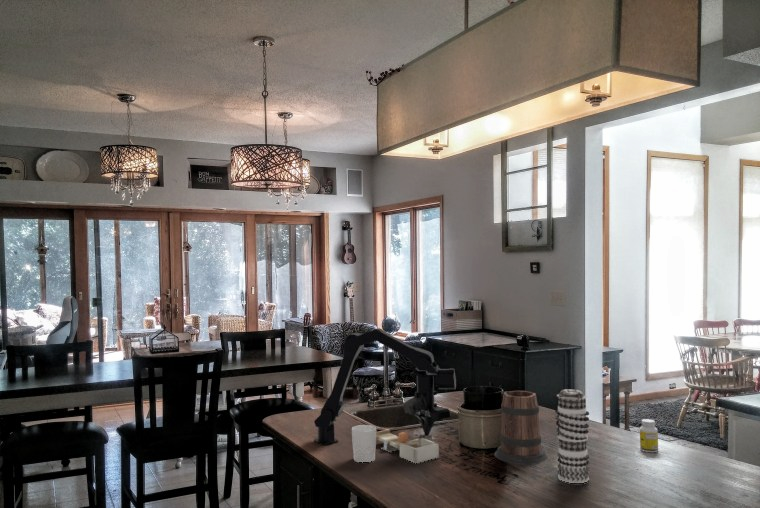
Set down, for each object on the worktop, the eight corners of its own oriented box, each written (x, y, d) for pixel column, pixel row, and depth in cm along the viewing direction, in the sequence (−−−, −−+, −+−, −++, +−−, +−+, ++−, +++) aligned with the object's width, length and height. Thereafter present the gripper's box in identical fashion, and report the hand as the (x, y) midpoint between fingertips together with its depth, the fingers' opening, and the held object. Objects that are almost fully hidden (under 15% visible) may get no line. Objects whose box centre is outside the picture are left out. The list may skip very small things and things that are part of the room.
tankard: (545, 466, 178) (544, 400, 178) (489, 460, 184) (488, 396, 184) (552, 444, 200) (550, 385, 200) (502, 440, 206) (501, 383, 206)
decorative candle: (587, 486, 161) (585, 395, 162) (553, 481, 166) (551, 392, 166) (593, 476, 169) (591, 389, 170) (560, 471, 174) (558, 386, 174)
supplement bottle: (639, 447, 195) (638, 417, 196) (657, 448, 194) (656, 419, 194) (640, 452, 190) (640, 421, 191) (659, 453, 188) (658, 423, 189)
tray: (399, 457, 188) (399, 443, 189) (422, 451, 194) (422, 438, 194) (415, 463, 182) (415, 449, 182) (438, 457, 187) (438, 443, 188)
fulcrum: (380, 448, 198) (380, 439, 198) (402, 443, 203) (401, 434, 203) (389, 452, 193) (389, 442, 194) (411, 447, 199) (410, 437, 199)
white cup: (373, 464, 182) (373, 432, 182) (349, 463, 184) (348, 431, 184) (379, 456, 190) (378, 425, 190) (355, 455, 191) (354, 424, 192)
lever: (374, 438, 203) (374, 431, 203) (409, 431, 212) (409, 424, 212) (402, 450, 190) (402, 443, 190) (438, 442, 199) (438, 434, 199)
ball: (398, 445, 194) (394, 435, 196) (406, 443, 196) (402, 434, 198) (403, 441, 192) (399, 431, 194) (411, 439, 194) (407, 429, 196)
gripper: (390, 388, 202) (391, 433, 202) (424, 396, 187) (426, 445, 187) (415, 383, 209) (416, 428, 208) (450, 391, 194) (452, 439, 193)
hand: (426, 435), depth 199 cm, fingers closed, pressing on lever
